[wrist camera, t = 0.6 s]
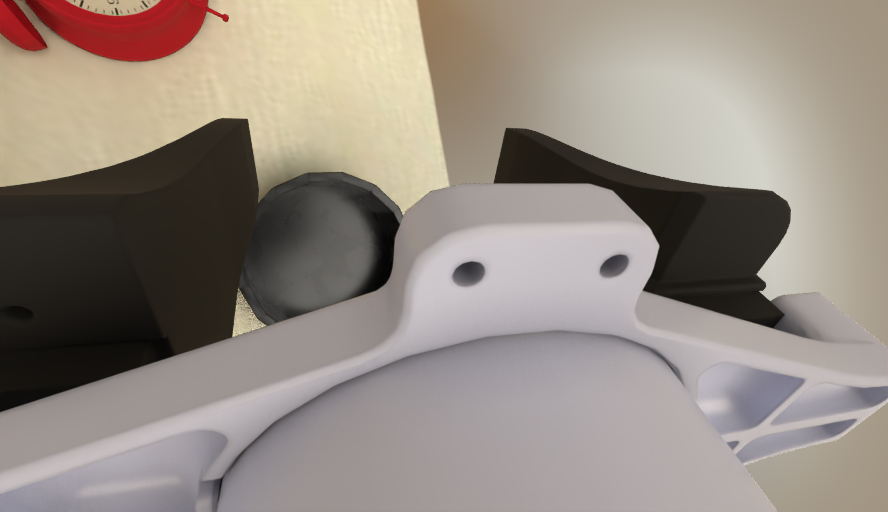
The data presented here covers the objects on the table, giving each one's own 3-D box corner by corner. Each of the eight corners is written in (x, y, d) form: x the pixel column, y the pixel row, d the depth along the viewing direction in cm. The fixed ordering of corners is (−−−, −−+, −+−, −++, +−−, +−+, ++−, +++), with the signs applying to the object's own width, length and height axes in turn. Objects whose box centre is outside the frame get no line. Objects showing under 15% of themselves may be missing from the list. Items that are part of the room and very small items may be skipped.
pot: (397, 315, 38) (418, 330, 33) (247, 339, 33) (247, 361, 28) (387, 176, 37) (408, 170, 32) (229, 180, 32) (226, 174, 27)
